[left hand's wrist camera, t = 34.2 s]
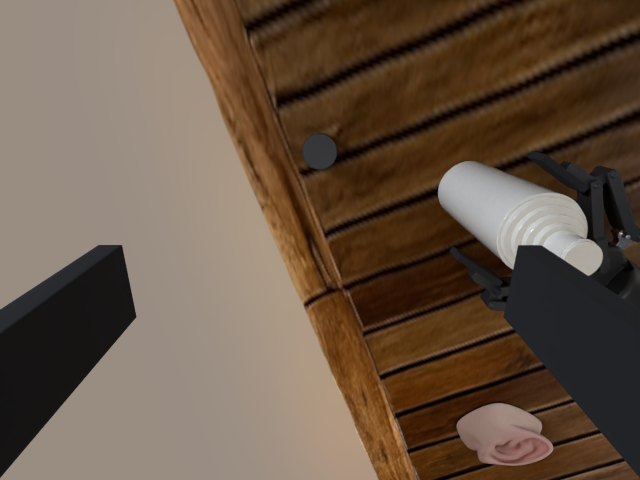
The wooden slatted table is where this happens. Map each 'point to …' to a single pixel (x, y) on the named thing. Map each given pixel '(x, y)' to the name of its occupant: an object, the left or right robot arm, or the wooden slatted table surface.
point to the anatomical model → (504, 435)
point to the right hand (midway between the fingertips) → (493, 206)
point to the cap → (319, 151)
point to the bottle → (517, 215)
